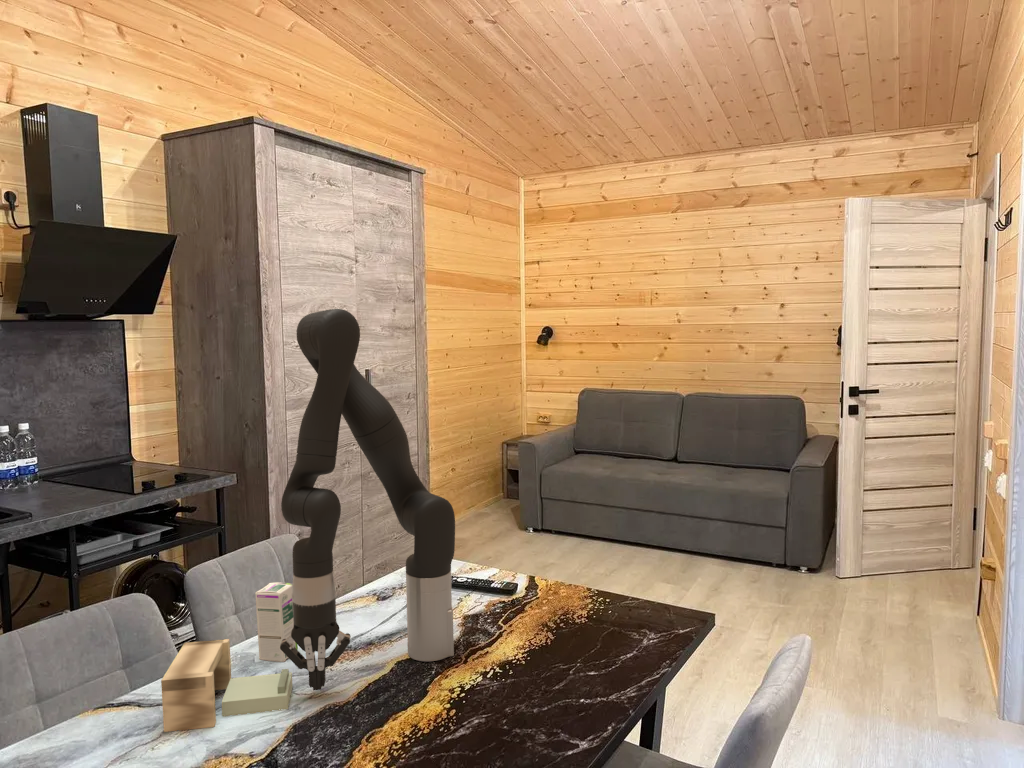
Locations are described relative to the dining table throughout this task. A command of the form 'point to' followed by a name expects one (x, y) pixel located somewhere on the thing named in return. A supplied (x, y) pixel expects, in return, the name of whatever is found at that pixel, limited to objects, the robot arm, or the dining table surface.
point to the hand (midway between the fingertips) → (317, 688)
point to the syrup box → (274, 619)
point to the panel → (257, 693)
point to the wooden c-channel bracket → (195, 684)
